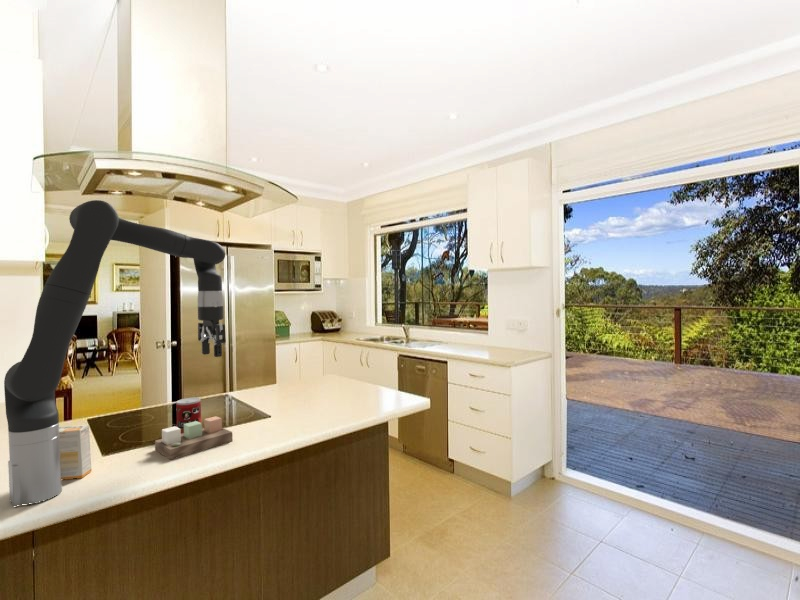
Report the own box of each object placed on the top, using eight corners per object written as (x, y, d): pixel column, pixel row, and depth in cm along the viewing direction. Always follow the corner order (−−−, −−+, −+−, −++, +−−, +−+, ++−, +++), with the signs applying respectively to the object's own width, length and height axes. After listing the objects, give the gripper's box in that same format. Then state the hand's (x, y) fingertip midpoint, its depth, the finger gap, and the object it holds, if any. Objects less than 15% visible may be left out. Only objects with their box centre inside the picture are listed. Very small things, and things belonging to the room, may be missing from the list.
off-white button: (167, 445, 126) (166, 432, 126) (162, 442, 129) (161, 429, 129) (181, 441, 129) (180, 428, 129) (175, 438, 132) (175, 426, 132)
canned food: (174, 436, 143) (173, 404, 143) (180, 428, 150) (179, 398, 150) (199, 433, 145) (198, 402, 145) (203, 426, 153) (202, 396, 152)
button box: (170, 459, 122) (170, 447, 122) (155, 450, 130) (154, 438, 130) (232, 441, 137) (232, 430, 137) (215, 433, 145) (215, 423, 145)
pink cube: (210, 433, 136) (209, 421, 136) (204, 431, 139) (204, 419, 139) (221, 430, 139) (221, 418, 139) (216, 427, 142) (215, 416, 142)
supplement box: (92, 471, 116) (90, 424, 115) (82, 478, 111) (80, 429, 111) (59, 473, 114) (57, 426, 114) (47, 481, 110) (45, 432, 109)
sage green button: (189, 439, 131) (189, 426, 131) (184, 436, 134) (183, 424, 134) (202, 435, 134) (201, 423, 134) (196, 433, 137) (196, 421, 137)
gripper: (189, 305, 136) (190, 355, 137) (208, 305, 127) (210, 359, 127) (212, 304, 142) (213, 352, 142) (232, 305, 132) (233, 356, 133)
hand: (211, 355), depth 135 cm, fingers open, 8 cm apart
